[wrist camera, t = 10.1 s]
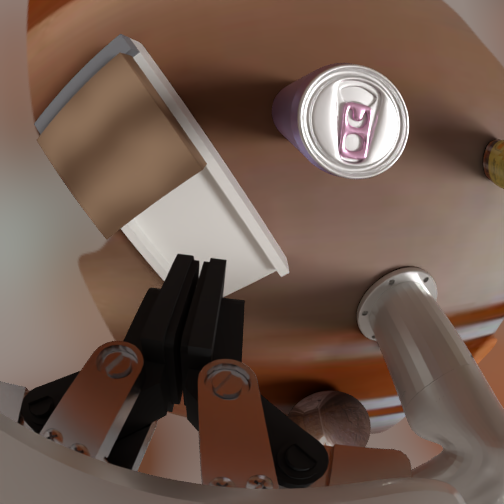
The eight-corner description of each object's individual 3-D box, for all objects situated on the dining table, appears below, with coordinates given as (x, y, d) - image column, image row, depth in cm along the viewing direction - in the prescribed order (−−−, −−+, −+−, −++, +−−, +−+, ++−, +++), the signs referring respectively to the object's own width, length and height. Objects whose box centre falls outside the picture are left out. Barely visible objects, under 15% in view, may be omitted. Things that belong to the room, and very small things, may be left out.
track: (286, 257, 32) (291, 283, 28) (200, 301, 35) (194, 329, 31) (141, 43, 20) (120, 33, 16) (61, 118, 23) (34, 124, 19)
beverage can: (268, 138, 26) (287, 176, 13) (273, 79, 23) (299, 48, 10) (329, 145, 26) (401, 191, 13) (335, 88, 23) (418, 78, 10)
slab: (210, 158, 25) (202, 170, 21) (125, 218, 28) (106, 239, 23) (141, 59, 20) (119, 52, 16) (64, 131, 23) (36, 140, 18)
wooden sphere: (332, 362, 41) (351, 446, 28) (373, 390, 47) (392, 456, 33) (263, 400, 47) (265, 474, 33) (311, 421, 52) (319, 483, 39)
